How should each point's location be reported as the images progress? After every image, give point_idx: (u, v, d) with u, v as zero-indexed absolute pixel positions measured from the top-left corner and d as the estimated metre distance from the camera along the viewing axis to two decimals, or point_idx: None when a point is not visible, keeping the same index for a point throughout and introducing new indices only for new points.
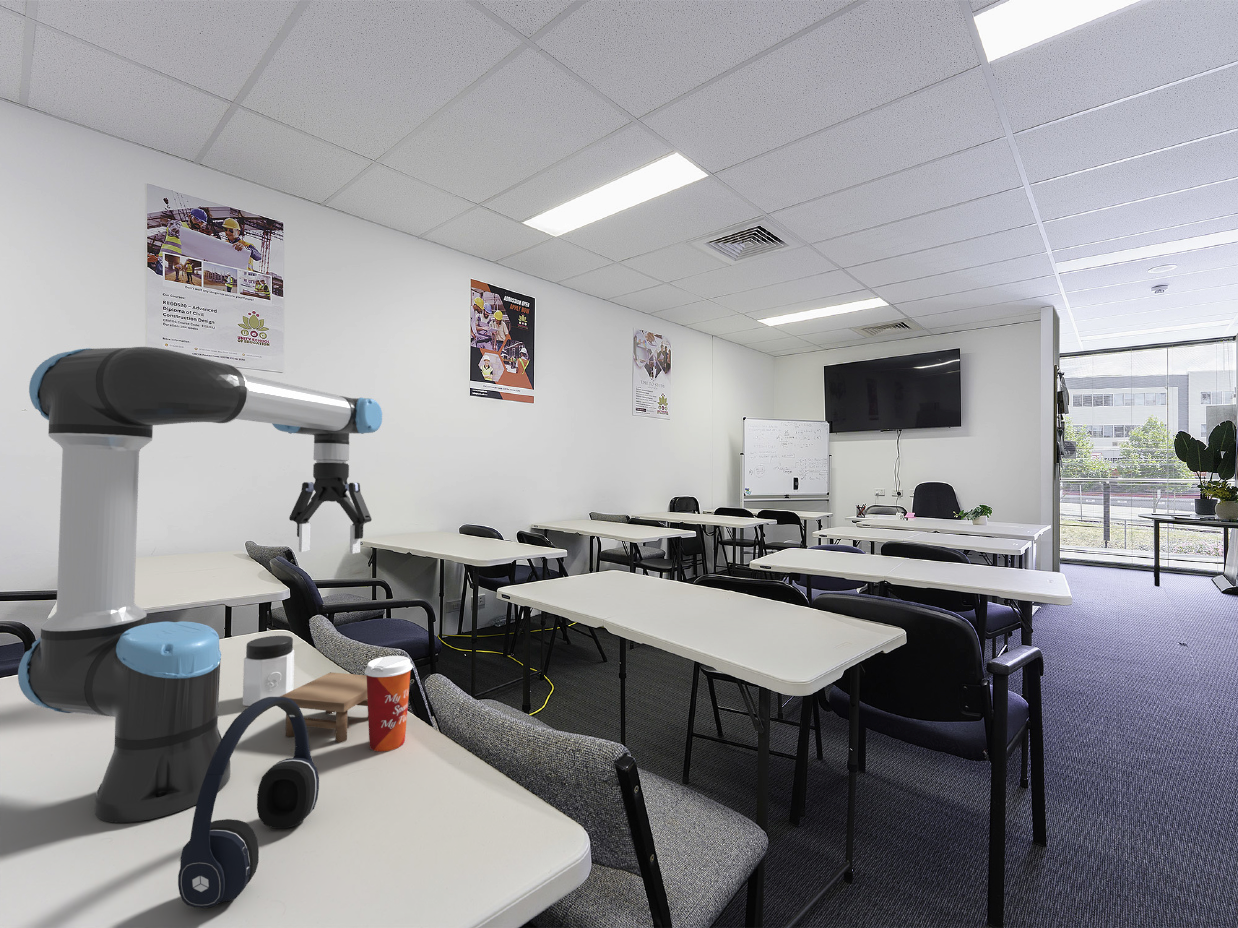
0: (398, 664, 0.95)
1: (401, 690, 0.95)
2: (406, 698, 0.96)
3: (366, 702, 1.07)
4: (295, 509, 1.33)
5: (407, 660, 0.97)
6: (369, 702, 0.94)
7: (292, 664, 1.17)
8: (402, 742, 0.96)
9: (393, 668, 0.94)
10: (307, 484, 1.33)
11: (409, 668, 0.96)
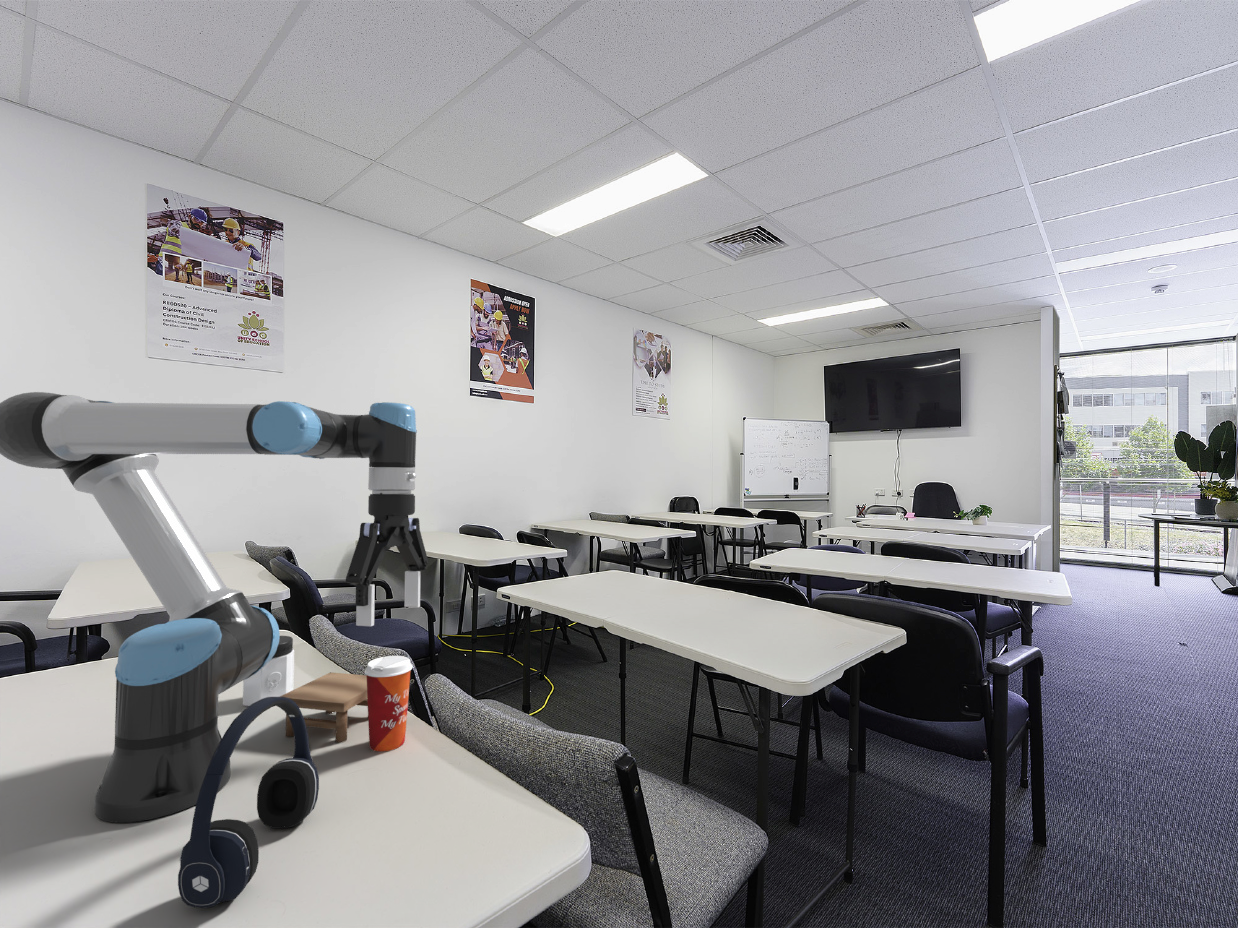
0: (398, 664, 0.95)
1: (401, 690, 0.95)
2: (406, 698, 0.96)
3: (366, 702, 1.07)
4: None
5: (407, 660, 0.97)
6: (369, 702, 0.94)
7: (292, 664, 1.17)
8: (402, 742, 0.96)
9: (393, 668, 0.94)
10: None
11: (409, 668, 0.96)
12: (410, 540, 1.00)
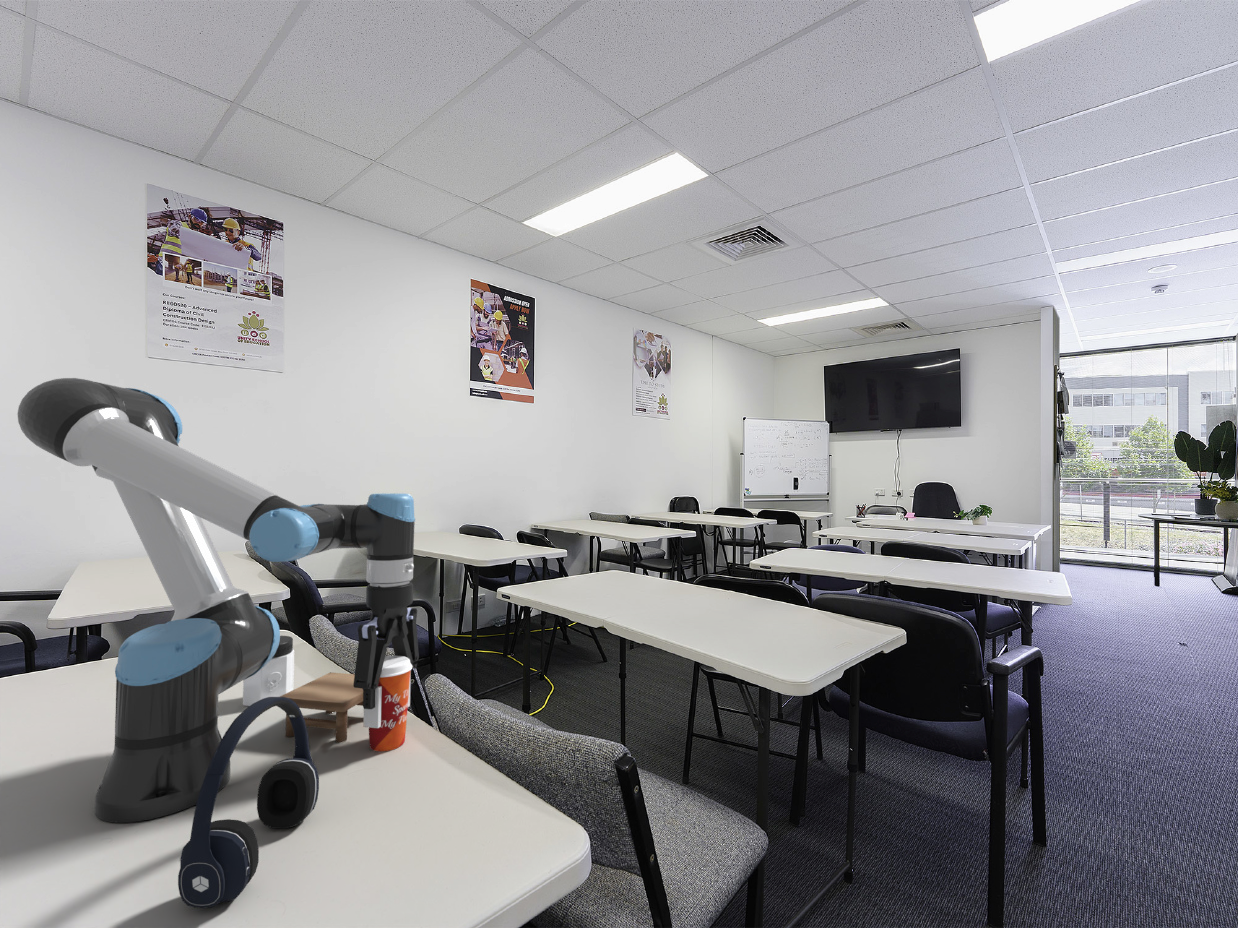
0: (398, 664, 0.95)
1: (401, 690, 0.95)
2: (406, 698, 0.96)
3: None
4: None
5: (407, 660, 0.97)
6: None
7: (292, 664, 1.17)
8: (402, 742, 0.96)
9: (392, 668, 0.94)
10: None
11: (409, 668, 0.96)
12: (406, 632, 0.99)
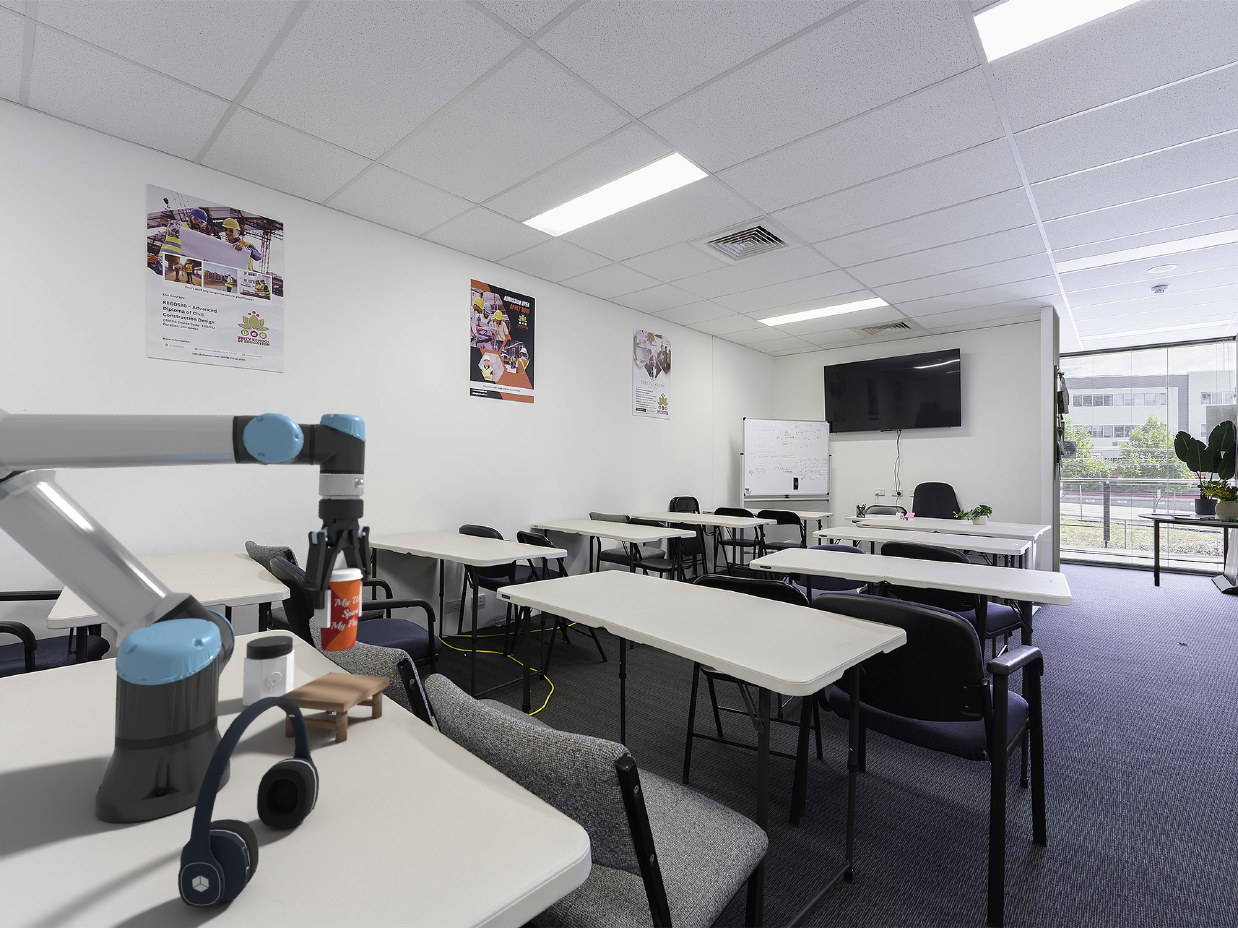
0: (348, 572, 1.02)
1: (350, 595, 1.02)
2: (356, 604, 1.03)
3: (366, 702, 1.07)
4: None
5: (357, 570, 1.05)
6: None
7: (292, 664, 1.17)
8: (352, 645, 1.03)
9: (342, 574, 1.01)
10: None
11: (358, 577, 1.04)
12: (357, 545, 1.06)
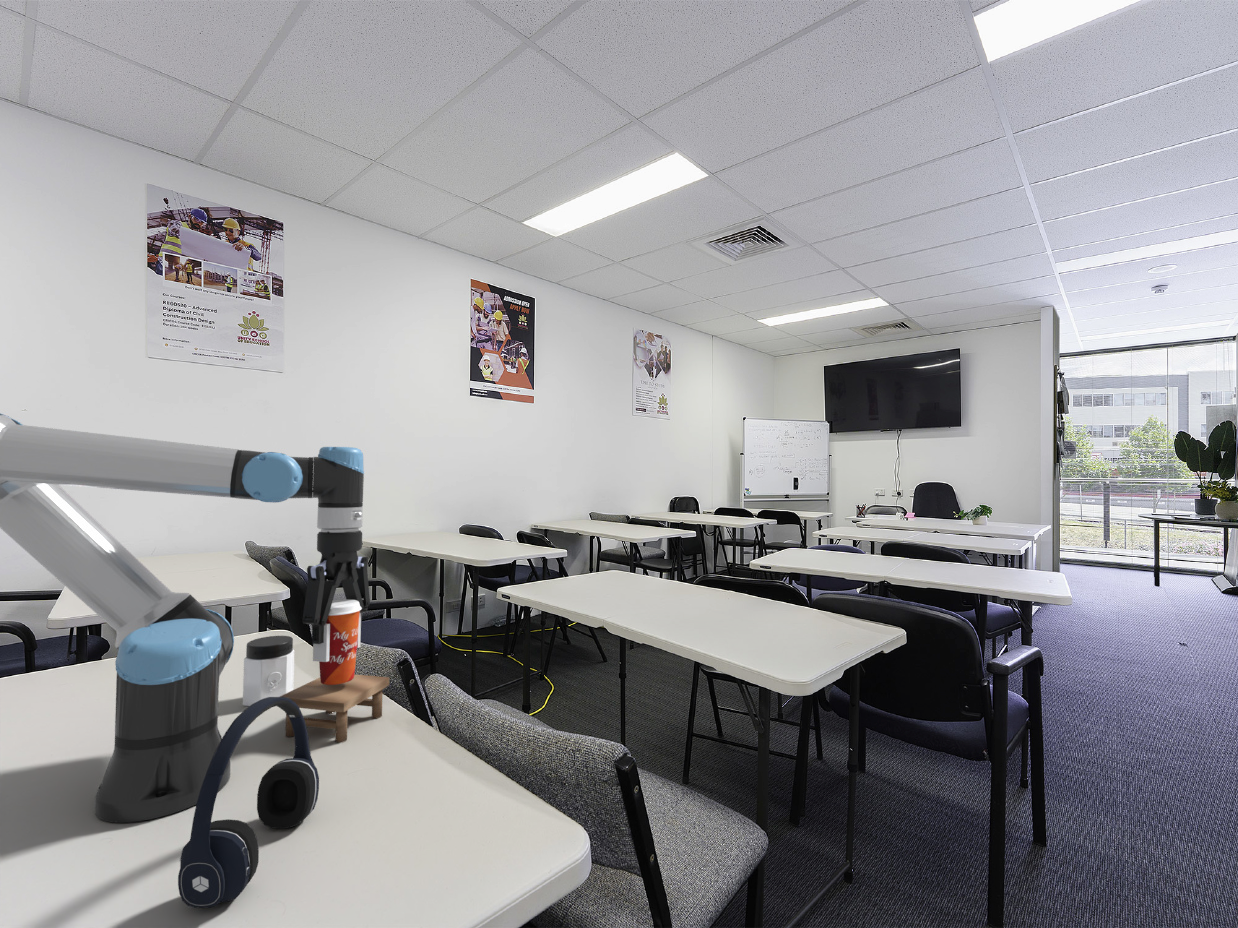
0: (347, 605, 1.02)
1: (349, 629, 1.02)
2: (355, 637, 1.03)
3: (366, 702, 1.07)
4: None
5: (356, 602, 1.04)
6: None
7: (292, 664, 1.17)
8: (351, 677, 1.03)
9: (341, 607, 1.01)
10: None
11: (357, 609, 1.03)
12: (355, 577, 1.06)
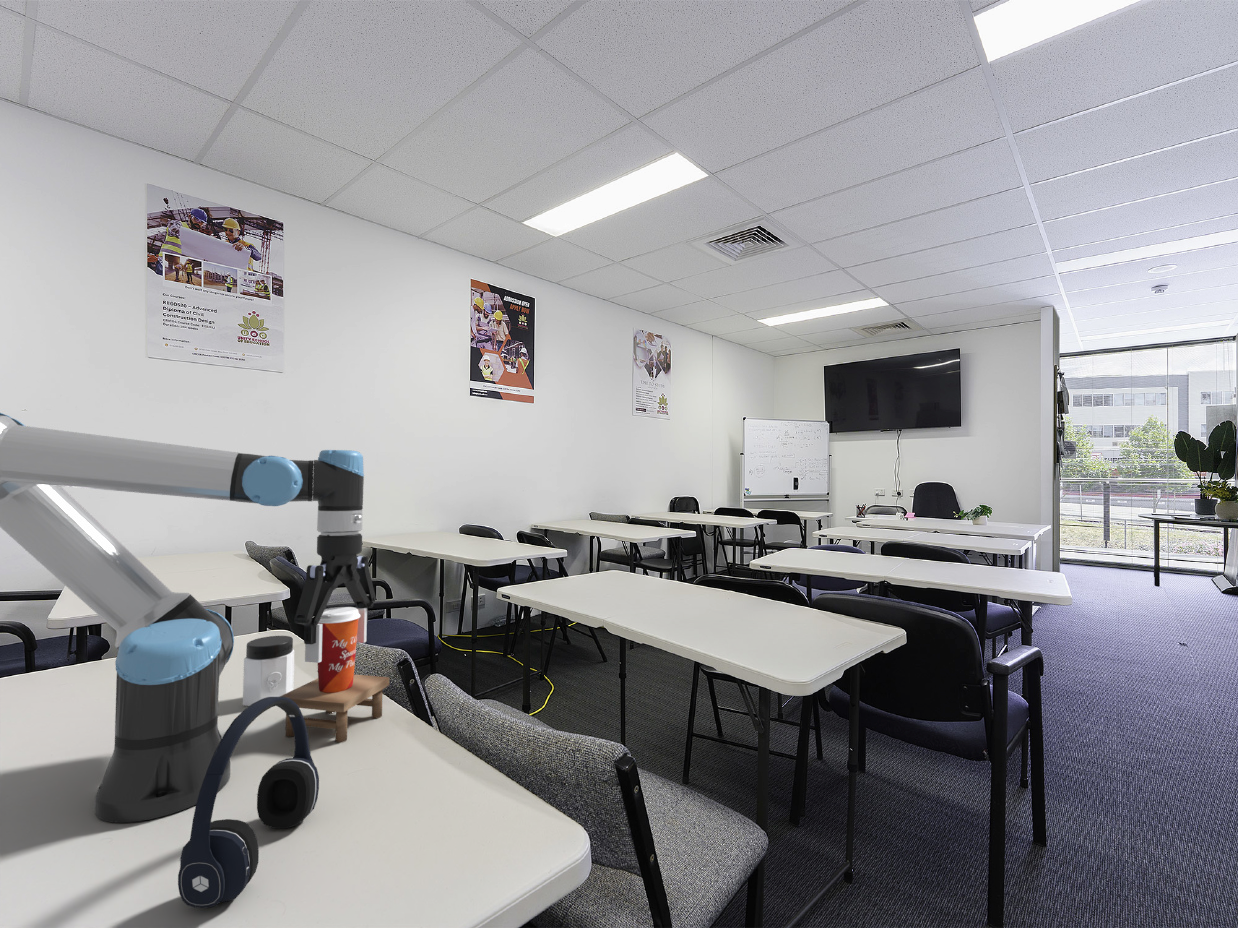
0: (345, 612, 1.02)
1: (348, 636, 1.02)
2: (353, 644, 1.03)
3: (366, 702, 1.07)
4: None
5: (355, 610, 1.04)
6: None
7: (292, 664, 1.17)
8: (349, 685, 1.03)
9: (340, 615, 1.01)
10: None
11: (356, 617, 1.03)
12: (357, 578, 1.07)
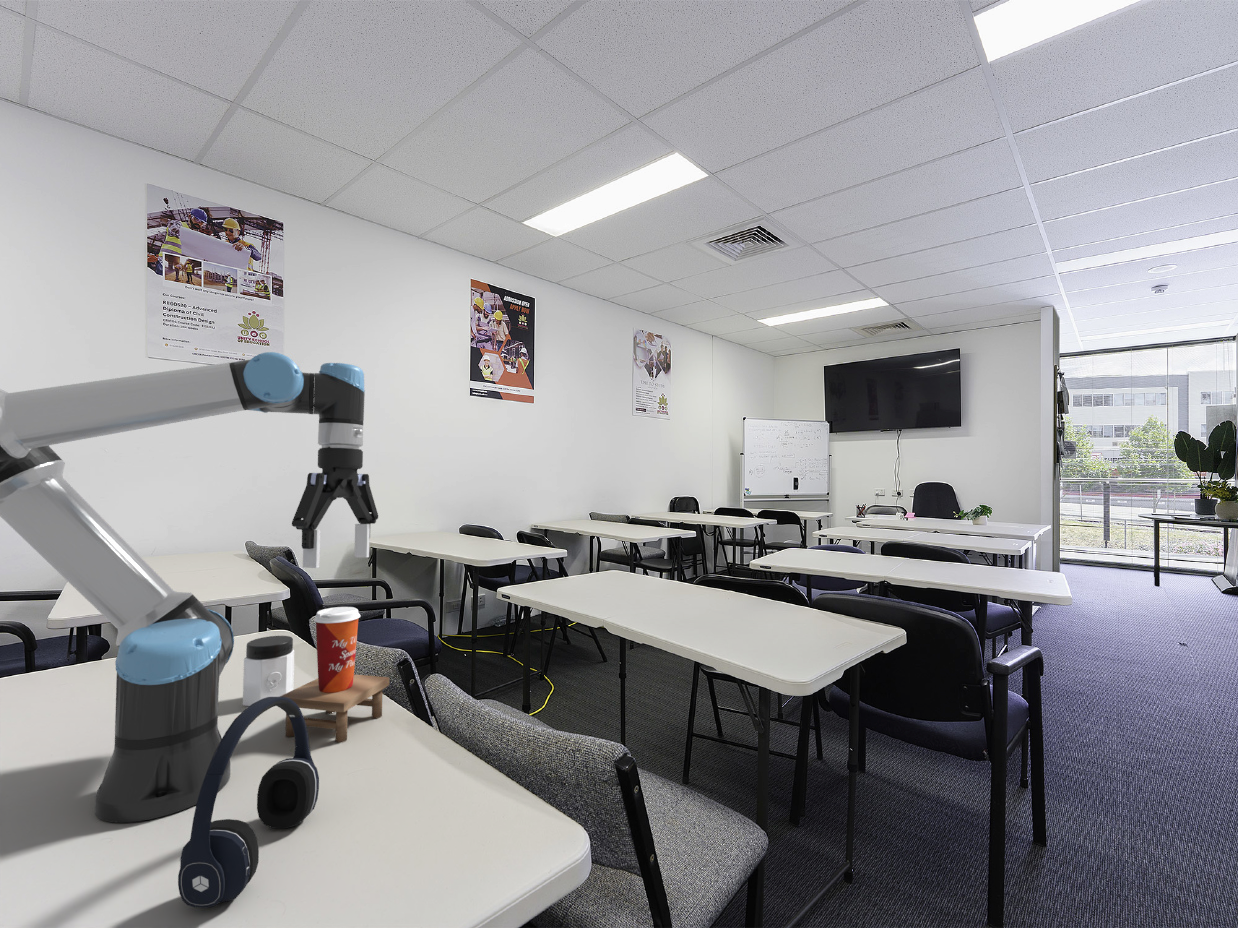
0: (345, 612, 1.02)
1: (348, 636, 1.02)
2: (353, 644, 1.03)
3: (366, 702, 1.07)
4: None
5: (355, 610, 1.04)
6: (318, 647, 1.01)
7: (292, 664, 1.17)
8: (349, 685, 1.03)
9: (340, 615, 1.01)
10: None
11: (356, 617, 1.03)
12: (358, 493, 1.07)
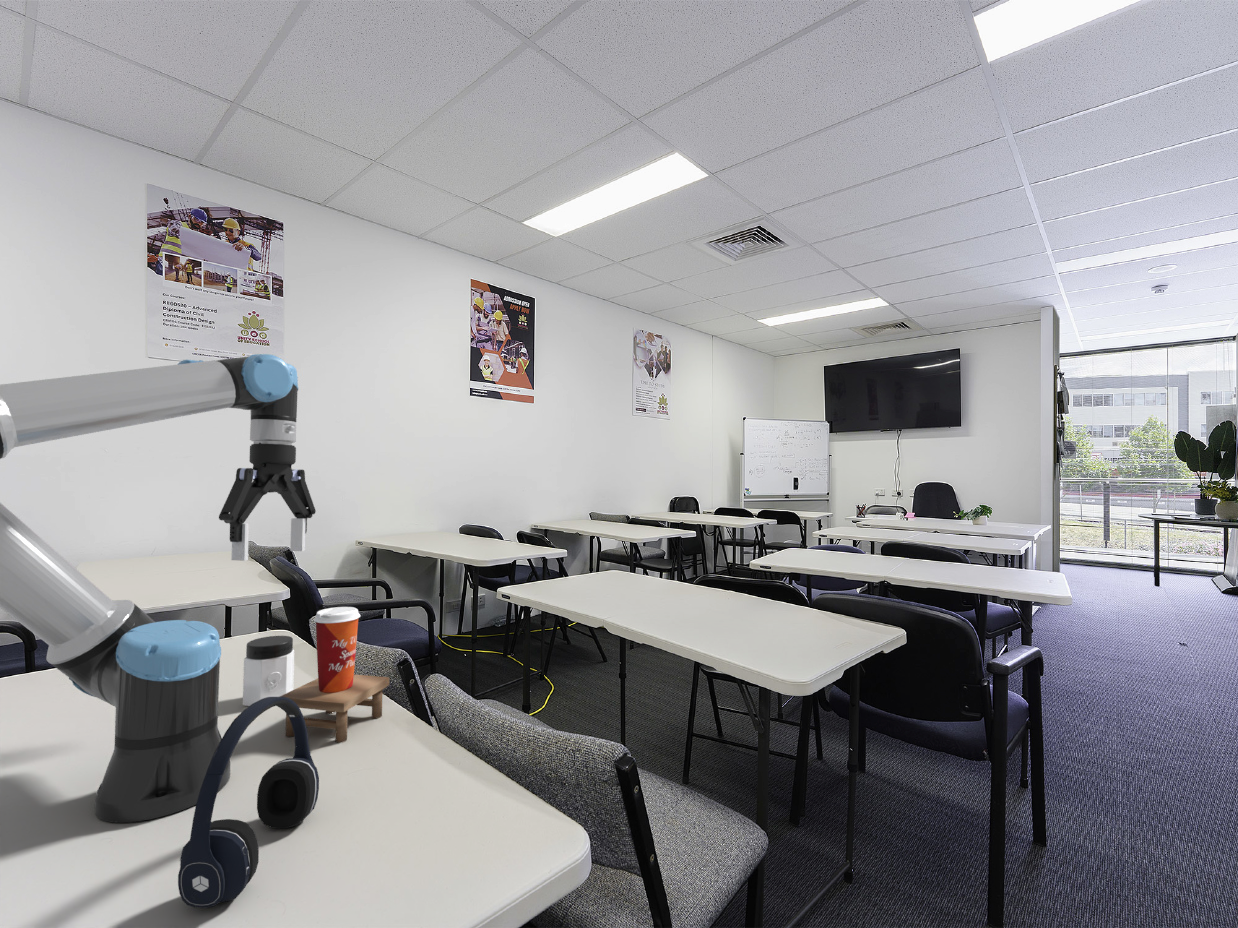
0: (345, 612, 1.02)
1: (348, 636, 1.02)
2: (353, 644, 1.03)
3: (366, 702, 1.07)
4: None
5: (355, 610, 1.04)
6: (318, 647, 1.01)
7: (292, 664, 1.17)
8: (349, 685, 1.03)
9: (340, 615, 1.01)
10: None
11: (356, 617, 1.03)
12: (292, 488, 1.10)
